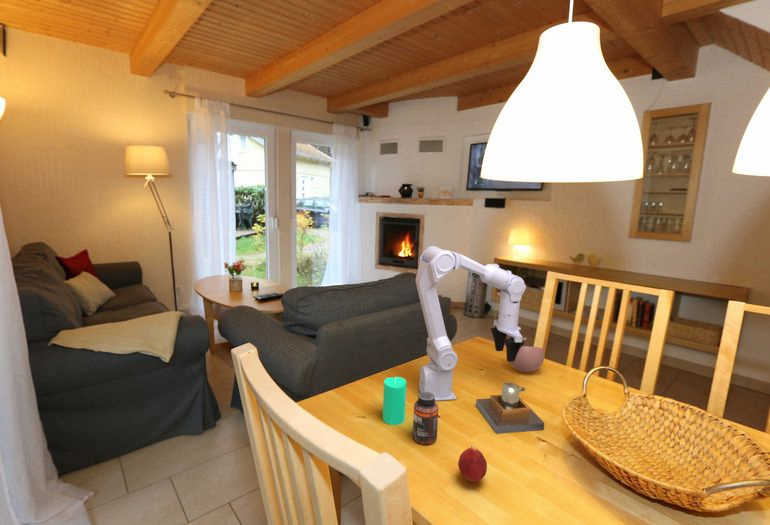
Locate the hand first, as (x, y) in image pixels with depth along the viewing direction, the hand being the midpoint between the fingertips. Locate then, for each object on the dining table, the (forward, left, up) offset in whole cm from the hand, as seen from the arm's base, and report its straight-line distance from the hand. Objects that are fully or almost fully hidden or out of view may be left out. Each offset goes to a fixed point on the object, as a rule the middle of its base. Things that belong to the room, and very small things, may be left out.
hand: (504, 355), depth 119 cm
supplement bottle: (-31, -22, -11) cm, 39 cm away
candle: (-37, -13, -11) cm, 41 cm away
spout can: (-6, -16, -8) cm, 19 cm away
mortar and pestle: (+13, +10, -11) cm, 20 cm away
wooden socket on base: (-6, -16, -10) cm, 20 cm away
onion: (-25, -37, -11) cm, 46 cm away
